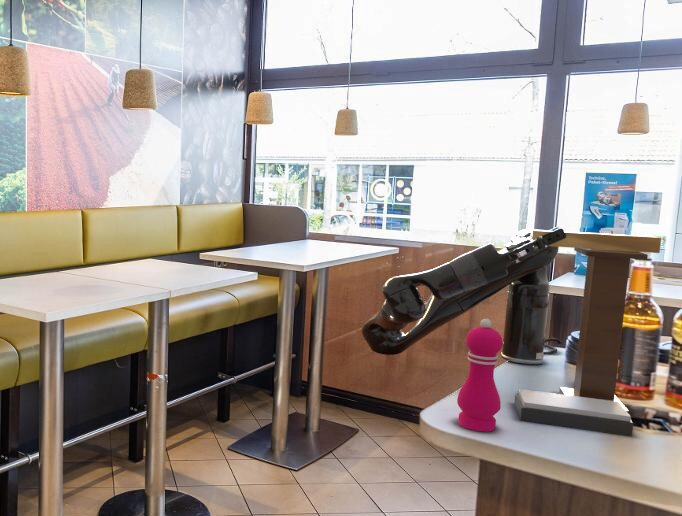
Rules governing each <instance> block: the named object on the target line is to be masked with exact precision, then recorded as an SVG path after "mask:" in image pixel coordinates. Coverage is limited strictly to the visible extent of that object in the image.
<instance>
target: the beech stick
mask: <svg viewBox="0 0 682 516" xmlns="http://www.w3.org/2000/svg"><path fill="white" fill-rule="evenodd" d="M549 230H550V229H549ZM549 230H545V229H535V230H531V234H530V240H532V239H534V238H537V237H538V236H542V235H545V234H547V233H549V232H552V231H549ZM564 232H565V234H566V238H565V239H562V240H560V241H558V242H555V243H553V244H550V245H548V246H554V247H559V248H570V249H574V248H586V249H602V250H618V251H634V252H641V253H652V254H660V252H661V244H662V237H661V236H655V235H654V236H653V235H637V234H635V235H634V234H617V233H601V232H600V233H599V232H583V231H582V232H581V231H565V230H564ZM533 245H536V243H534V244H533Z"/></svg>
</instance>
